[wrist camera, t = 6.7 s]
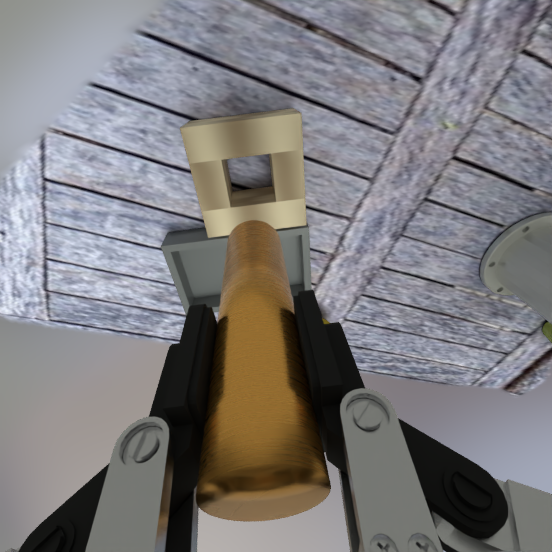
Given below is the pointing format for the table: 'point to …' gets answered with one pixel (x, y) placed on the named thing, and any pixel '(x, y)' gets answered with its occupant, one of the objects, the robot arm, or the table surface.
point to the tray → (211, 260)
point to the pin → (259, 393)
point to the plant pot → (548, 330)
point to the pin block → (241, 143)
